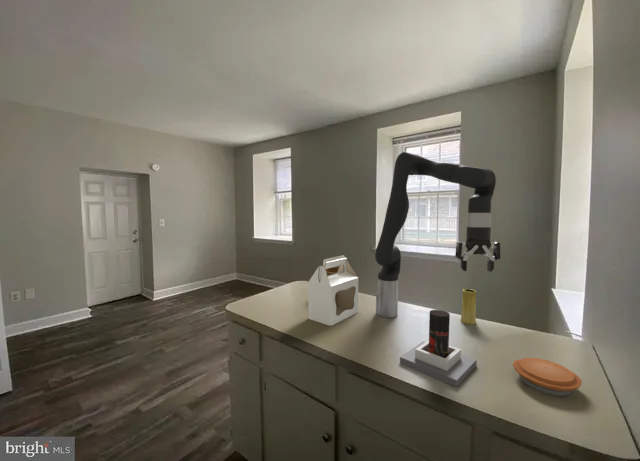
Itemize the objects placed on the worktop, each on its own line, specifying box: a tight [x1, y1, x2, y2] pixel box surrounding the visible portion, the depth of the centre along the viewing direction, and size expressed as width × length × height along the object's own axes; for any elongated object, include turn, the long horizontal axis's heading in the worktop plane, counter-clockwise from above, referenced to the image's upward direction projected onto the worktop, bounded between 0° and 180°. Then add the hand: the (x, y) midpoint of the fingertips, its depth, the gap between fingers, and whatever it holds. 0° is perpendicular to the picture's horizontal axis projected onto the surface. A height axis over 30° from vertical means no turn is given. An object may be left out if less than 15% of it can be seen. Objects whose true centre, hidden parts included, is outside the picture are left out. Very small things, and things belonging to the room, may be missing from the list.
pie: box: [512, 357, 583, 397], centre depth 83 cm, size 15×16×5 cm
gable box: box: [307, 254, 359, 327], centre depth 136 cm, size 22×13×28 cm, turn 140°
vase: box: [460, 288, 477, 325], centre depth 128 cm, size 6×6×14 cm
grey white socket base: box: [399, 339, 478, 388], centre depth 93 cm, size 18×16×5 cm
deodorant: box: [428, 309, 451, 358], centre depth 93 cm, size 6×6×15 cm
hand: (476, 271), depth 103 cm, fingers open, 8 cm apart
